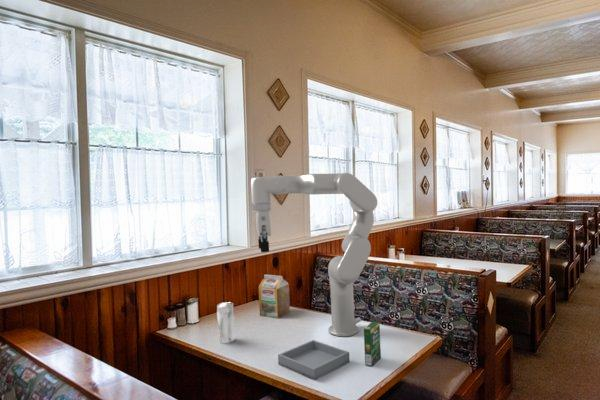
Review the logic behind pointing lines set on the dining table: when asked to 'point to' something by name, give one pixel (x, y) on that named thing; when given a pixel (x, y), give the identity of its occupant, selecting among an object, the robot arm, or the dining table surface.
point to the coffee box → (372, 343)
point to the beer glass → (226, 321)
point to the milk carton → (274, 297)
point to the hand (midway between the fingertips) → (263, 250)
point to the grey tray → (313, 359)
